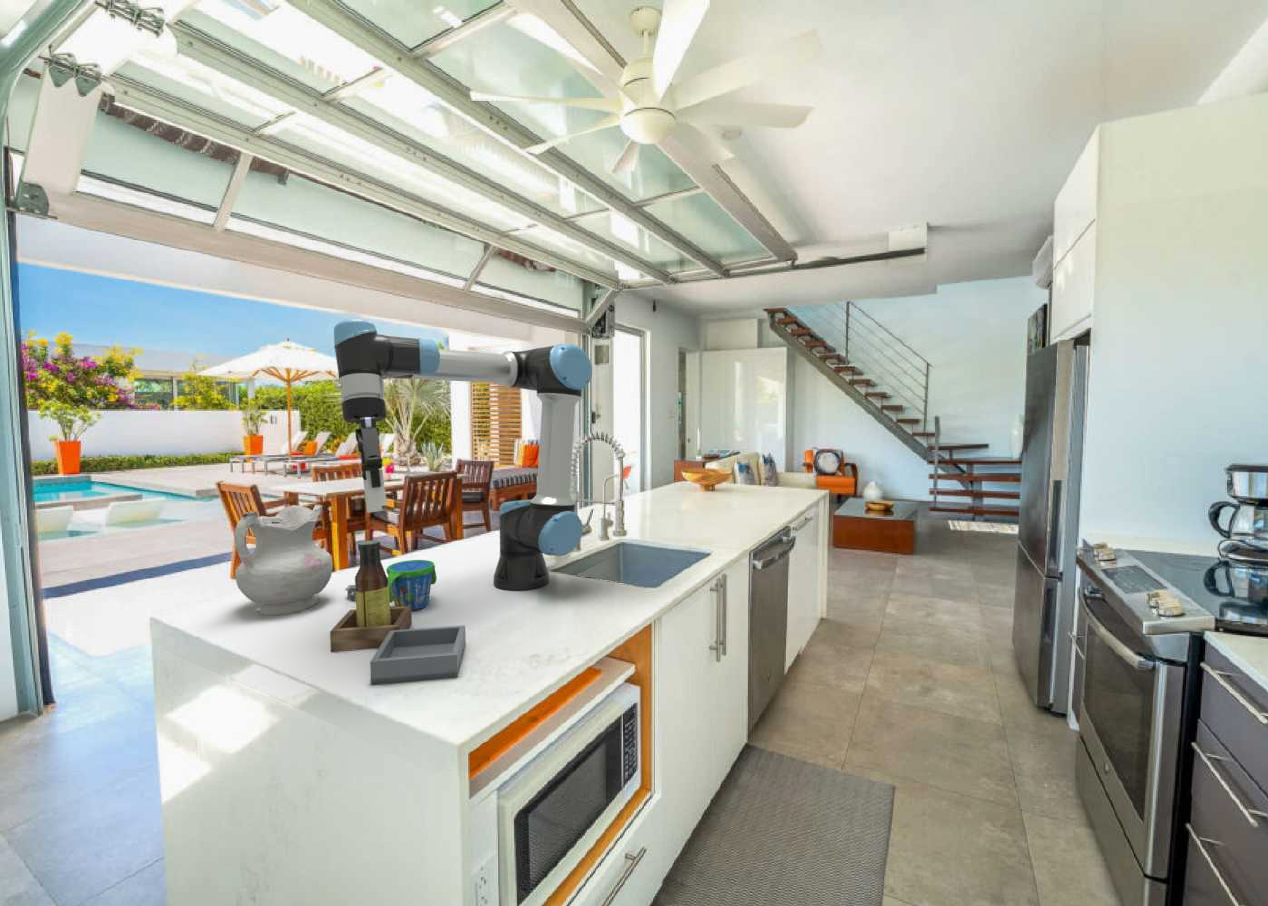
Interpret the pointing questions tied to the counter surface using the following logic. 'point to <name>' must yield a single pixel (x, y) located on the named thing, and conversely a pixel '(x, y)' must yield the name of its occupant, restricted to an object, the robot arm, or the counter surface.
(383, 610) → the sauce bottle
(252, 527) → the ceramic pitcher
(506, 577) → the robot arm
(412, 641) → the tray
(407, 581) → the snack cup
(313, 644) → the counter surface
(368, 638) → the square brown frame
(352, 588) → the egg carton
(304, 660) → the counter surface
